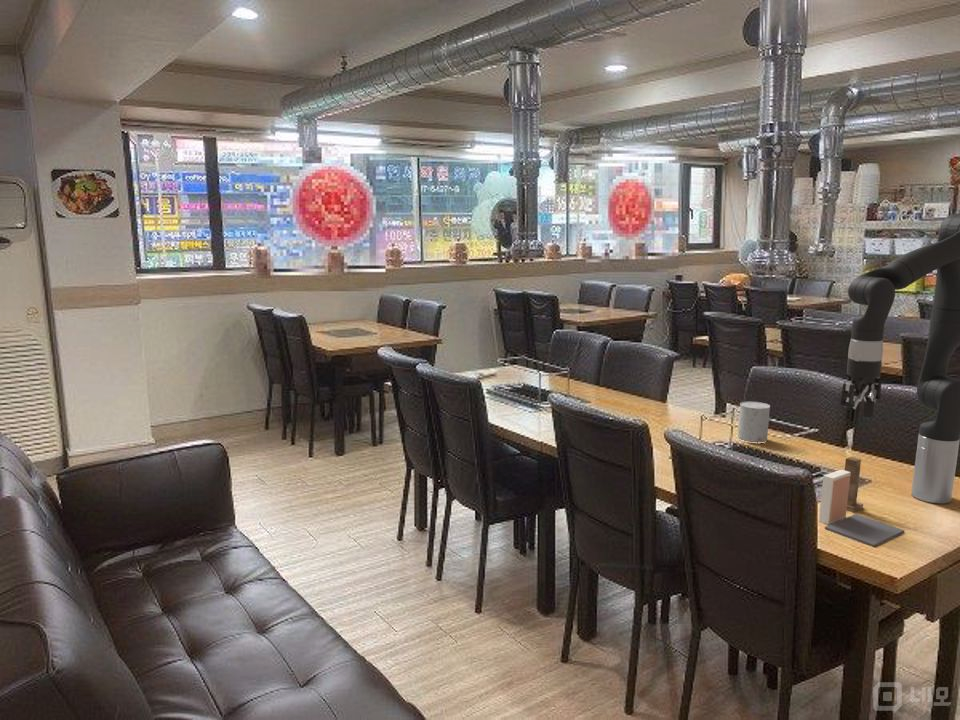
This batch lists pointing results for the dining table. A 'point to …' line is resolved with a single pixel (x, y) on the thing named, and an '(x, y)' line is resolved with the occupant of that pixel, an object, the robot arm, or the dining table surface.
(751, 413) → the grey stone cylinder
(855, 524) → the mat
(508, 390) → the dining table surface
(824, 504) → the white rectangular block
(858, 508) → the brown tapered stand
